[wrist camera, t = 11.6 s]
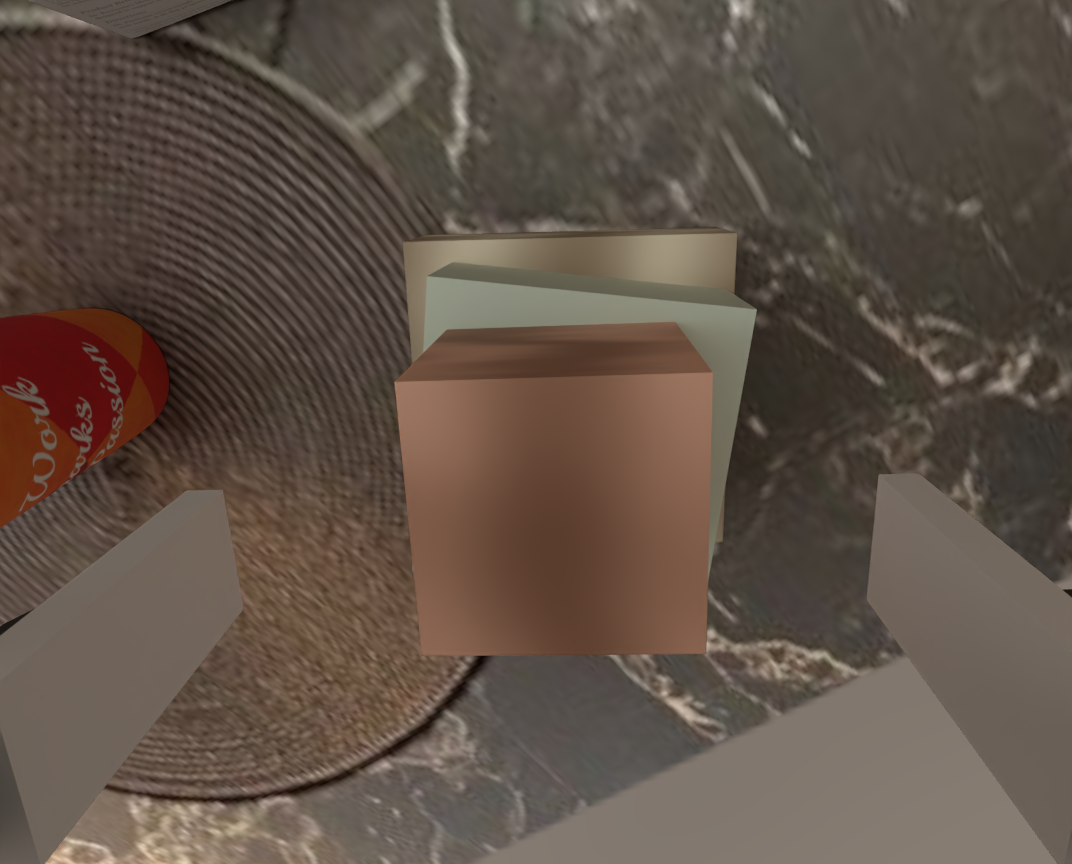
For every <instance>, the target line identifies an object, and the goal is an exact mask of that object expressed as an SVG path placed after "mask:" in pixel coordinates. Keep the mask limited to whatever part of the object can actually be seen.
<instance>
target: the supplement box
mask: <svg viewBox="0 0 1072 864" xmlns="http://www.w3.org/2000/svg"><path fill="white" fill-rule="evenodd" d="M27 1H30V2H33V3H36V4H39V5H42V6H44V7H47V8H49V9H52V10H55V11H57V12H60V13H63V14H66V15H68V16H71V17H74V18H77V19H79V20H82V21H85V22H88V23H90V24H93V25H96V26H98V27H101V28H104V29H107V30H109V31H112V32H115V33H117V34H120V35H122V36H125V37H128V38H136V37H139V36H141V35H144V34H147V33H149V32H152V31H154V30H157V29H160V28H162V27H165V26H168V25H170V24H173V23H175V22H178V21H181V20H183V19H186V18H188V17H191V16H193V15H196V14H198V13H201V12H204V11H206V10H209V9H211V8H214V7H216V6H219V5H221V4H224V3H227V2H229V1H232V0H27Z"/></svg>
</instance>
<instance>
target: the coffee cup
mask: <svg viewBox="0 0 1072 864" xmlns="http://www.w3.org/2000/svg"><path fill="white" fill-rule="evenodd" d="M169 387H170V378H169V371H168V366H167V363H166V360H165V357H164V355H163V353H162V351H161V349H160V347H159V346H158V344H157V343H156V341H155V340H154V339H153V337H152V336H151V335H150V334H149V333H148V332H147V331H146V330H145V329H144V328H143V327H142V326H141V325H139V324H138V323H137V322H135V321H134V320H132V319H130V318H129V317H127V316H125V315H123V314H120V313H117V312H114V311H111V310H106V309H97V308H84V309H71V310H62V311H52V312H44V313H36V314H28V315H20V316H12V317H4V318H0V528H1V527H2V526H4V525H5V524H7V523H8V522H10V521H11V520H13V519H14V518H16V517H17V516H19V515H20V514H22V513H23V512H25V511H26V510H28V509H29V508H31V507H32V506H34V505H35V504H37V503H38V502H40V501H41V500H43V499H44V498H46V497H47V496H49V495H50V494H52V493H53V492H55V491H56V490H58V489H59V488H61V487H62V486H64V485H65V484H67V483H68V482H70V481H71V480H73V479H74V478H75V477H77V476H78V475H80V474H81V473H83V472H84V471H86V470H87V469H89V468H90V467H92V466H93V465H95V464H96V463H98V462H99V461H101V460H102V459H104V458H105V457H106V456H108V455H109V454H111V453H112V452H114V451H115V450H117V449H118V448H120V447H121V446H122V445H124V444H125V443H127V442H128V441H130V440H131V439H132V438H134V437H135V436H136V435H138V434H139V433H141V432H142V431H143V430H144V429H146V428H147V427H148V426H149V425H151V424H152V423H153V422H154V421H155V420H156V419H157V417H158V416H159V415H160V413H161V412H162V410H163V409H164V407H165V404H166V402H167V399H168V395H169Z"/></svg>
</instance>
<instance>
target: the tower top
mask: <svg viewBox="0 0 1072 864" xmlns="http://www.w3.org/2000/svg"><path fill="white" fill-rule="evenodd" d="M756 312H757V309H755V308H754V307H752V306H751V305H749V304H748V303H746V302H745V301H743V300H742V299H740V298H739V297H737V296H736V295H734V294H733V293H731V292H730V291H728V290H727V289H717V288H707V287H697V286H687V285H677V284H667V283H657V282H648V281H638V280H628V279H618V278H608V277H598V276H588V275H578V274H568V273H558V272H548V271H538V270H528V269H518V268H508V267H498V266H488V265H478V264H468V263H459V262H452V263H450V264H448V265H446V266H444V267H443V268H441V269H439V270H437V271H435V272H434V273H432V274H430V275H428V276H427V285H426V305H425V325H424V345H423V353H424V352H425V351H426V350H427V349H428V348H429V347H430V346H431V345H432V344H433V343H434V342H435V341H436V340H437V339H438V338H439V337H440V336H441V335H442V334H443V333H444V332H445V331H446V330H448V329H476V328H505V327H534V326H562V325H591V324H620V323H649V322H676V324H677V325H678V326H679V328H680V329H681V330H682V332H683V333H684V334H685V336H686V337H687V338H688V340H689V341H690V342H691V344H692V345H693V346H694V348H695V349H696V350H697V352H698V353H699V354H700V356H701V357H702V358H703V360H704V361H705V362H706V364H707V365H708V366H709V368H710V369H711V370H712V372H713V392H712V434H711V476H710V518H709V559H708V579H709V573H710V567H711V562H712V556H713V551H714V545H715V540H716V534H717V529H718V523H719V517H720V512H721V506H722V501H723V495H724V490H725V484H726V479H727V473H728V467H729V462H730V456H731V451H732V445H733V440H734V434H735V429H736V423H737V417H738V412H739V406H740V401H741V395H742V390H743V384H744V379H745V373H746V367H747V362H748V356H749V351H750V345H751V340H752V334H753V329H754V323H755V317H756ZM412 571H413V565H412Z"/></svg>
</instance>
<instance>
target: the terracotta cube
mask: <svg viewBox="0 0 1072 864" xmlns="http://www.w3.org/2000/svg"><path fill="white" fill-rule="evenodd" d="M395 392H396V402H397V412H398V422H399V432H400V442H401V452H402V462H403V472H404V482H405V492H406V502H407V512H408V522H409V533H410V543H411V553H412V563H413V573H414V583H415V593H416V603H417V613H418V623H419V633H420V643H421V653H422V656H480V655H624V654H706V643H707V601H708V559H709V518H710V476H711V434H712V392H713V372H712V370H711V369H710V368H709V366H708V365H707V364H706V362H705V361H704V360H703V358H702V357H701V356H700V354H699V353H698V352H697V350H696V349H695V348H694V346H693V345H692V344H691V342H690V341H689V340H688V338H687V337H686V336H685V334H684V333H683V332H682V330H681V329H680V328H679V326H678V325H677V324H676V322H649V323H620V324H591V325H562V326H534V327H505V328H476V329H448V330H446V331H445V332H444V333H443V334H442V335H441V336H440V337H439V338H438V339H437V340H436V341H435V342H434V343H433V344H432V345H431V346H430V347H429V348H428V349H427V350H426V351H425V352H424V353H423V354H422V355H421V356H420V357H419V358H418V359H417V360H416V361H415V362H414V363H413V364H412V365H411V366H410V367H409V368H408V369H407V370H406V371H405V372H404V373H403V374H402V375H401V376H400V377H399V378H398V379H397V380H396V381H395Z"/></svg>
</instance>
